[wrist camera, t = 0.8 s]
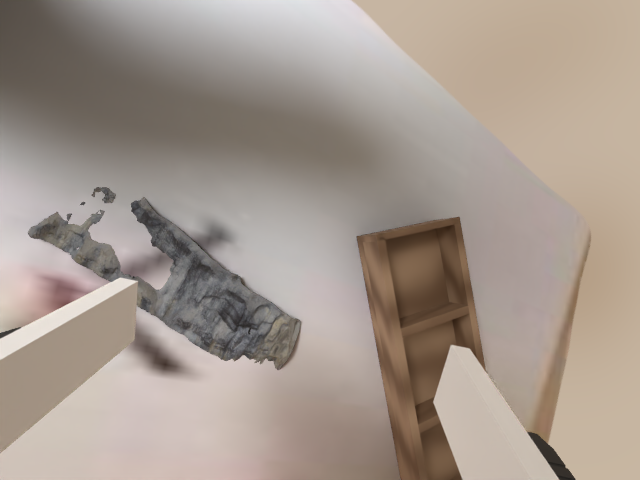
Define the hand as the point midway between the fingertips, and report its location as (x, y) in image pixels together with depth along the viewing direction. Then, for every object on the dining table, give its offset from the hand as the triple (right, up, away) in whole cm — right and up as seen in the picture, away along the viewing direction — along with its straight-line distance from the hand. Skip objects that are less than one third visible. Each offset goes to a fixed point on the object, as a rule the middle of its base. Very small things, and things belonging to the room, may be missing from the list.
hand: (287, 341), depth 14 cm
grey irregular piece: (-9, +1, +13) cm, 16 cm away
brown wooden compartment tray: (+12, -8, +20) cm, 25 cm away
